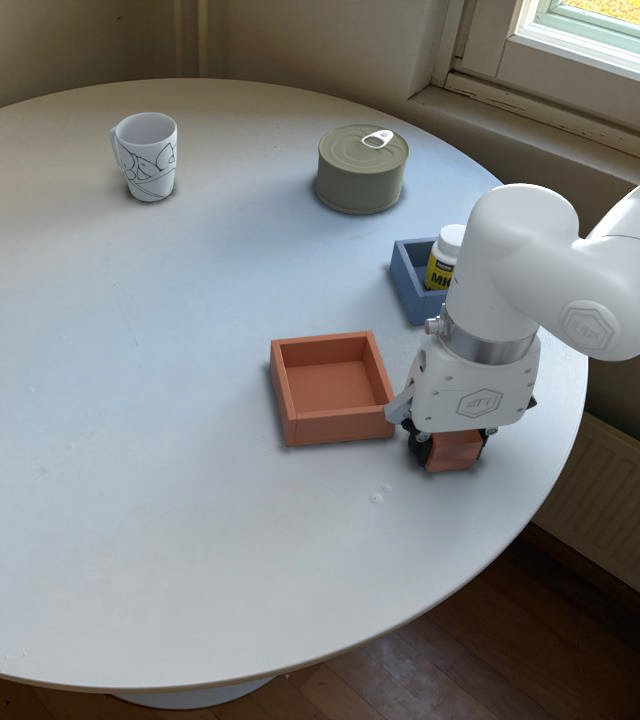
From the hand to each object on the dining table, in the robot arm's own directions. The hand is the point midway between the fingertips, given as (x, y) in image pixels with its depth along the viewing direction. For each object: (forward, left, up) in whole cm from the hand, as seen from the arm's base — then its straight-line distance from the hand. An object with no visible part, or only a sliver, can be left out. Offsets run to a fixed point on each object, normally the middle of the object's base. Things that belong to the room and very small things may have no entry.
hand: (443, 450), depth 78 cm
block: (0, 0, 0) cm, 0 cm away
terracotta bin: (+10, -8, 0) cm, 13 cm away
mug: (+28, -51, -1) cm, 58 cm away
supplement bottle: (-7, -23, 0) cm, 24 cm away
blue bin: (-7, -23, 0) cm, 24 cm away
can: (-2, -45, -1) cm, 45 cm away
